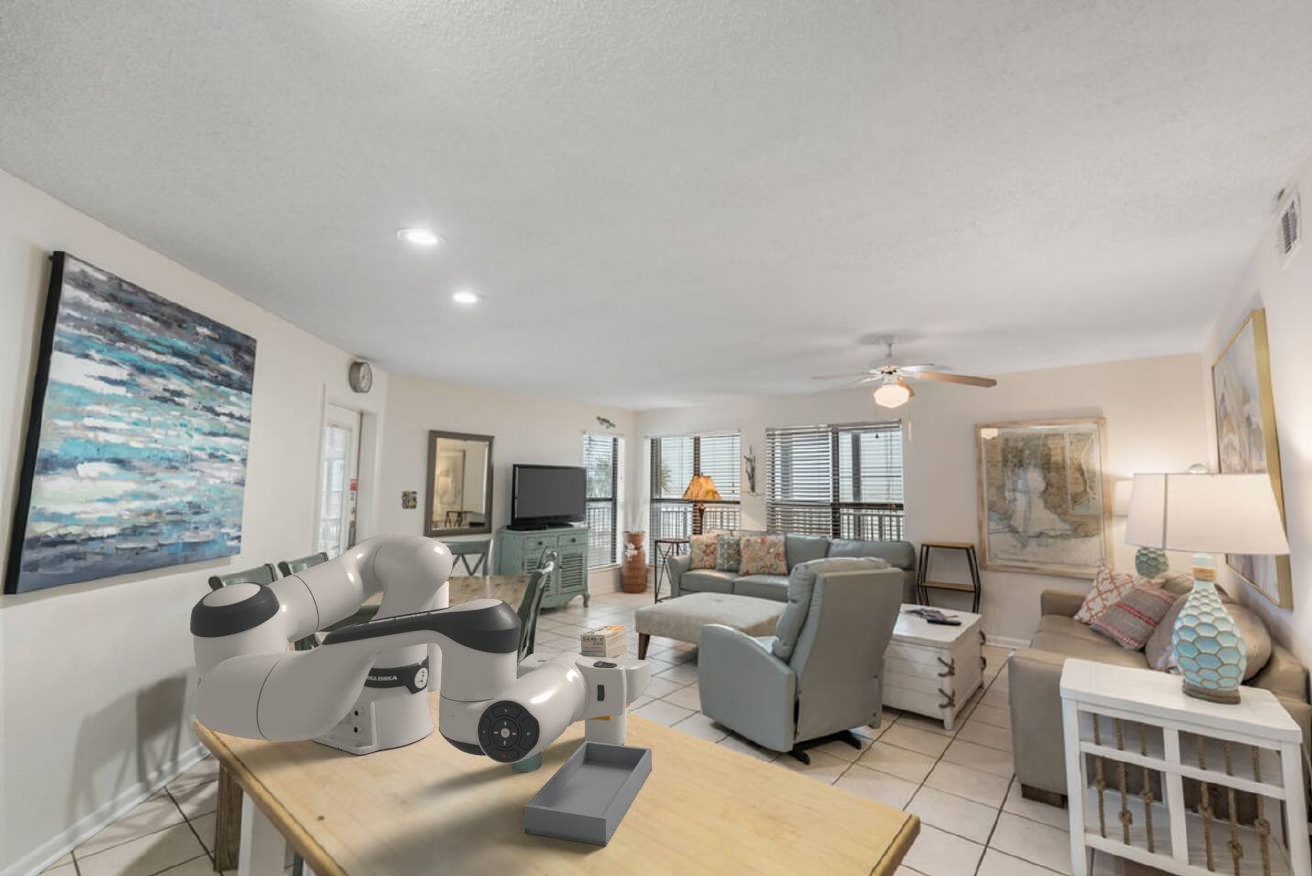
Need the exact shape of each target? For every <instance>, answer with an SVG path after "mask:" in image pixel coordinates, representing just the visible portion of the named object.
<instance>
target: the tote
mask: <svg viewBox="0 0 1312 876" xmlns="http://www.w3.org/2000/svg"><path fill="white" fill-rule="evenodd" d="M652 753H653V751H652V748H649V747H642V746H633V745H624V744H623V745H617V744H608V743H599V742H591V741H585V740H584V742H583V743H581V745H580V746H579V747H578V748H577V749H576V750H575V752H573V754H571V756H570V757H569V758H568V759H567V760H566V761H565V762H564V763H563V764H562V765H561V767H560V768H559V769H557V771H556V772H554V774H553V775H552V776H551V777H550V778H549V779H548V780H547V782H545V784H543V786H542V787H541V788H540V789H539V790H538V791H537V792H535V794H534V795H533V797H532V798H531V799H530V800H529V801H528V802H527V803H526V804H525V805H524V834H530V835H536V836H543V837H548V838H554V839H561V840H565V841H572V842H577V843H584V844H589V845H596V846H599V847H600V846H601V847H607V846H608V845H609V842H610V841H611V840H612V838H613V836H614V834H615V833H616V831H617V829H618V827H619V826H620V824H621V822H622V821H623V820H624V818H625V816H626V814H627V812H628V811H629V809H630V807H631V806H632V804H633V803H634V801H635V800H636V798H637V796H638V794H639V793H640V791H641V789H642V788H643V786H644V784H645V782H646V780H647V779H648V778H649V776H650V774H651V772H652V771H653V762H652V761H653V760H652V759H653V758H652V757H653V755H652Z"/></svg>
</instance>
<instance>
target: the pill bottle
mask: <svg viewBox="0 0 1312 876" xmlns="http://www.w3.org/2000/svg"><path fill="white" fill-rule="evenodd" d="M627 708H628V707H627ZM627 708H626V709H625V712H624V713H623V714H622V715H619V716H615V717H614V718H612V719H611V720H609V721H607V720H605V721H604V720H587V719H586V720H584V742H585V741H591V742H599V743H608V744H617V745H624V744H625V743H626V740H627V734H628V732H627V731H628V730H627V729H628V725H627V719H628V717H627V716H628V713H627V711H628V710H627Z"/></svg>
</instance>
